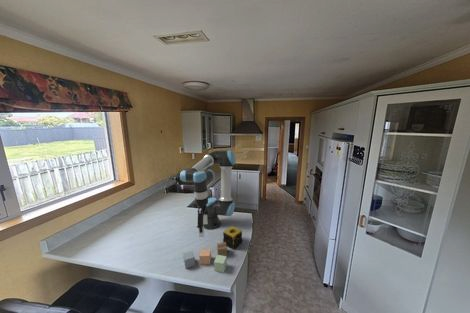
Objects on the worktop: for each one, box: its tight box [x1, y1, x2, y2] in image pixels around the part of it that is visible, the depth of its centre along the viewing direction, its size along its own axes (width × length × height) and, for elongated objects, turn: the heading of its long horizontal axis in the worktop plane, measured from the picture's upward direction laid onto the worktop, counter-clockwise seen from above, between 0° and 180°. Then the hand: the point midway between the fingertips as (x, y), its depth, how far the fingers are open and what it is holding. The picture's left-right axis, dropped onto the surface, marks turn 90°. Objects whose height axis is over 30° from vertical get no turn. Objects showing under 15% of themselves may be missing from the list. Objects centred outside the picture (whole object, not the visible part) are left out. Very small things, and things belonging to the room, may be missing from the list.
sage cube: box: [213, 254, 228, 273], centre depth 107 cm, size 6×6×6 cm
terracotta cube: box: [199, 248, 212, 266], centre depth 113 cm, size 6×6×6 cm
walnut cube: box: [216, 242, 228, 257], centre depth 119 cm, size 6×6×6 cm
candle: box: [222, 225, 243, 250], centre depth 129 cm, size 10×10×10 cm
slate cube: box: [182, 250, 196, 270], centre depth 112 cm, size 6×6×6 cm
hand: (203, 229), depth 110 cm, fingers open, 13 cm apart
